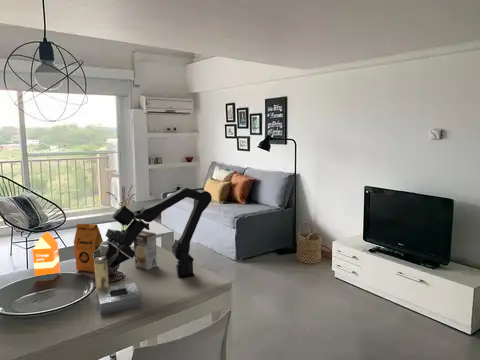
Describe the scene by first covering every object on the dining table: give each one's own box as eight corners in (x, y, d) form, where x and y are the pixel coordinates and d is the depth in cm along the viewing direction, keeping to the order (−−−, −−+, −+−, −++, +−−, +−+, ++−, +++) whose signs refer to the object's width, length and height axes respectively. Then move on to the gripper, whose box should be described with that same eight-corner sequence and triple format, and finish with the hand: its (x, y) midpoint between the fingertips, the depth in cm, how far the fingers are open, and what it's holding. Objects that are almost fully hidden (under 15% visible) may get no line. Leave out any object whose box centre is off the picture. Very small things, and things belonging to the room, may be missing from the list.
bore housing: (135, 292, 152) (134, 282, 151) (141, 306, 139) (140, 296, 139) (98, 298, 146) (97, 288, 146) (100, 314, 134) (99, 303, 133)
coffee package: (95, 274, 171) (92, 227, 168) (72, 272, 175) (69, 225, 172) (109, 267, 181) (106, 221, 178) (87, 264, 184) (84, 220, 182)
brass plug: (110, 289, 155) (107, 256, 153) (107, 294, 151) (105, 260, 149) (98, 289, 155) (95, 256, 153) (95, 294, 150) (92, 260, 148)
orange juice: (35, 282, 164) (31, 237, 161) (42, 274, 173) (38, 231, 170) (54, 280, 165) (50, 236, 163) (60, 273, 174) (57, 230, 171)
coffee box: (134, 266, 181) (132, 233, 179) (144, 262, 186) (142, 230, 184) (148, 270, 176) (146, 236, 174) (158, 265, 181) (156, 232, 179)
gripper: (110, 217, 161) (85, 247, 156) (125, 225, 146) (97, 259, 141) (129, 232, 167) (106, 261, 162) (146, 241, 151) (120, 274, 147)
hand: (107, 264), depth 153 cm, fingers open, 9 cm apart
